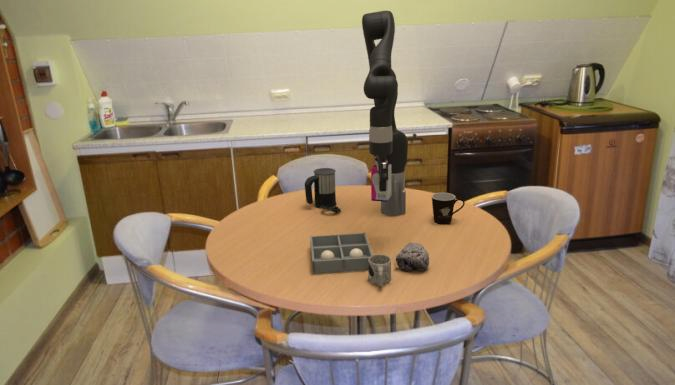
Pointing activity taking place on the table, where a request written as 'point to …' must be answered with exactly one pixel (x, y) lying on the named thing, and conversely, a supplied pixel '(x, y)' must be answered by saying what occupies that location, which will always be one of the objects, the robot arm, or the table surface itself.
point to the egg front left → (356, 253)
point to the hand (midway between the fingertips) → (380, 187)
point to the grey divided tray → (340, 253)
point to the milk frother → (322, 189)
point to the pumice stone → (413, 257)
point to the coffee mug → (444, 207)
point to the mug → (379, 269)
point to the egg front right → (327, 255)
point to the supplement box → (375, 192)
